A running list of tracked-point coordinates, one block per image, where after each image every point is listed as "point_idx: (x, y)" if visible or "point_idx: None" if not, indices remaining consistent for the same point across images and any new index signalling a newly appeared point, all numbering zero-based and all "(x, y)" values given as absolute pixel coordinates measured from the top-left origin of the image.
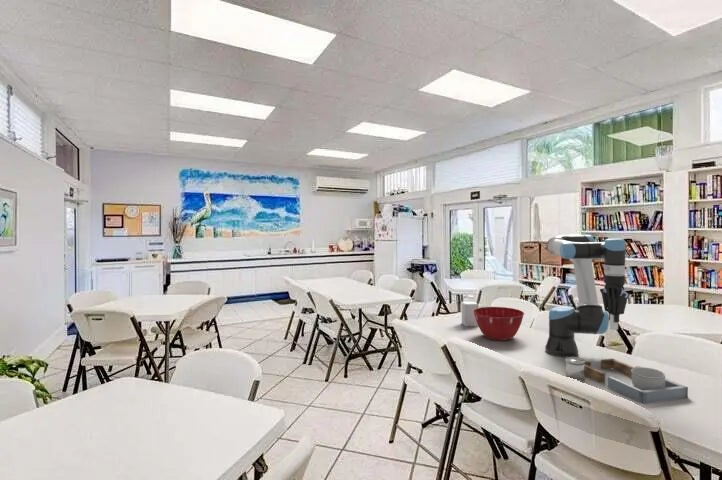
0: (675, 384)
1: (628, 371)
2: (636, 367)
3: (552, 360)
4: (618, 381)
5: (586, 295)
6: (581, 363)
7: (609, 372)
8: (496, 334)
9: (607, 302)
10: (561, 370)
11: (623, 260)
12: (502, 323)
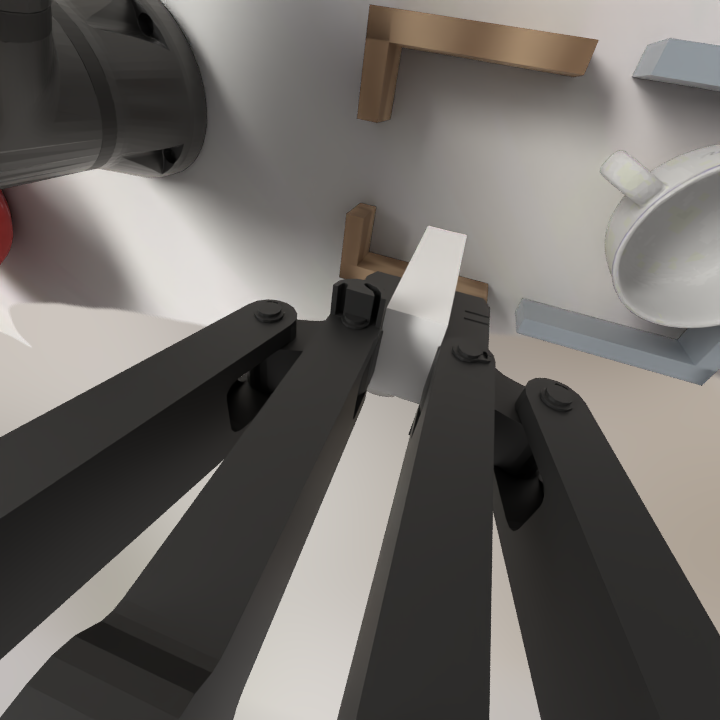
0: None
1: (514, 65)
2: (620, 190)
3: (234, 237)
4: (572, 348)
5: None
6: None
7: (429, 134)
8: (4, 255)
9: (179, 461)
10: (329, 304)
11: None
12: None
